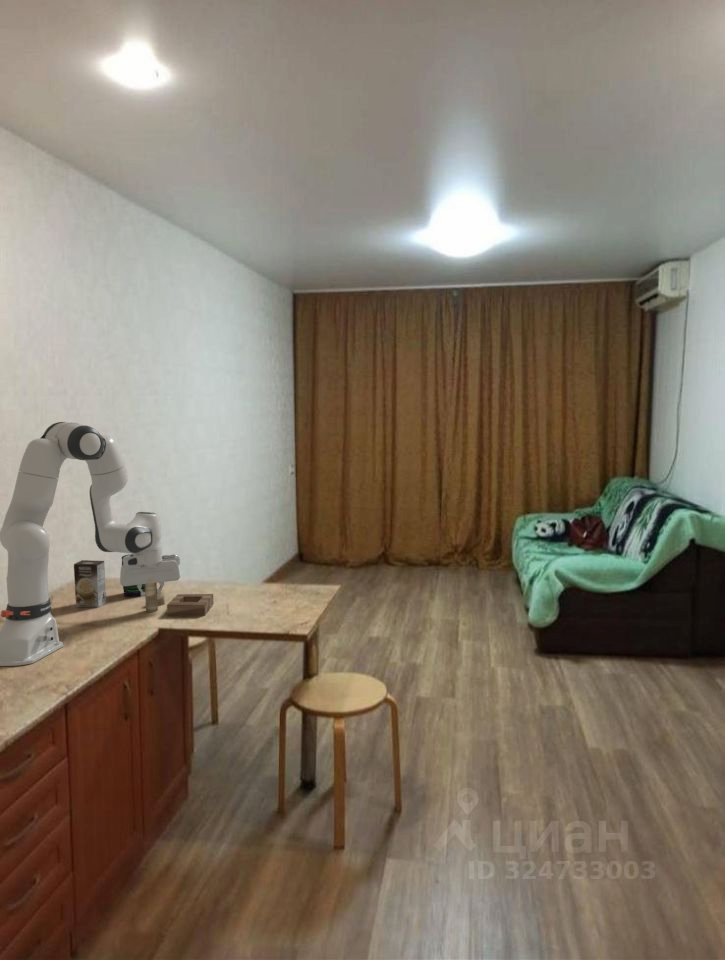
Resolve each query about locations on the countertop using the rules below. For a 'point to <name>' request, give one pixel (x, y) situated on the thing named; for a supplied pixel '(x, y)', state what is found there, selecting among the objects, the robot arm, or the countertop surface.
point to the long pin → (151, 596)
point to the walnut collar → (190, 605)
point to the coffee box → (89, 583)
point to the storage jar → (132, 588)
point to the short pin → (161, 598)
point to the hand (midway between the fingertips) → (151, 595)
